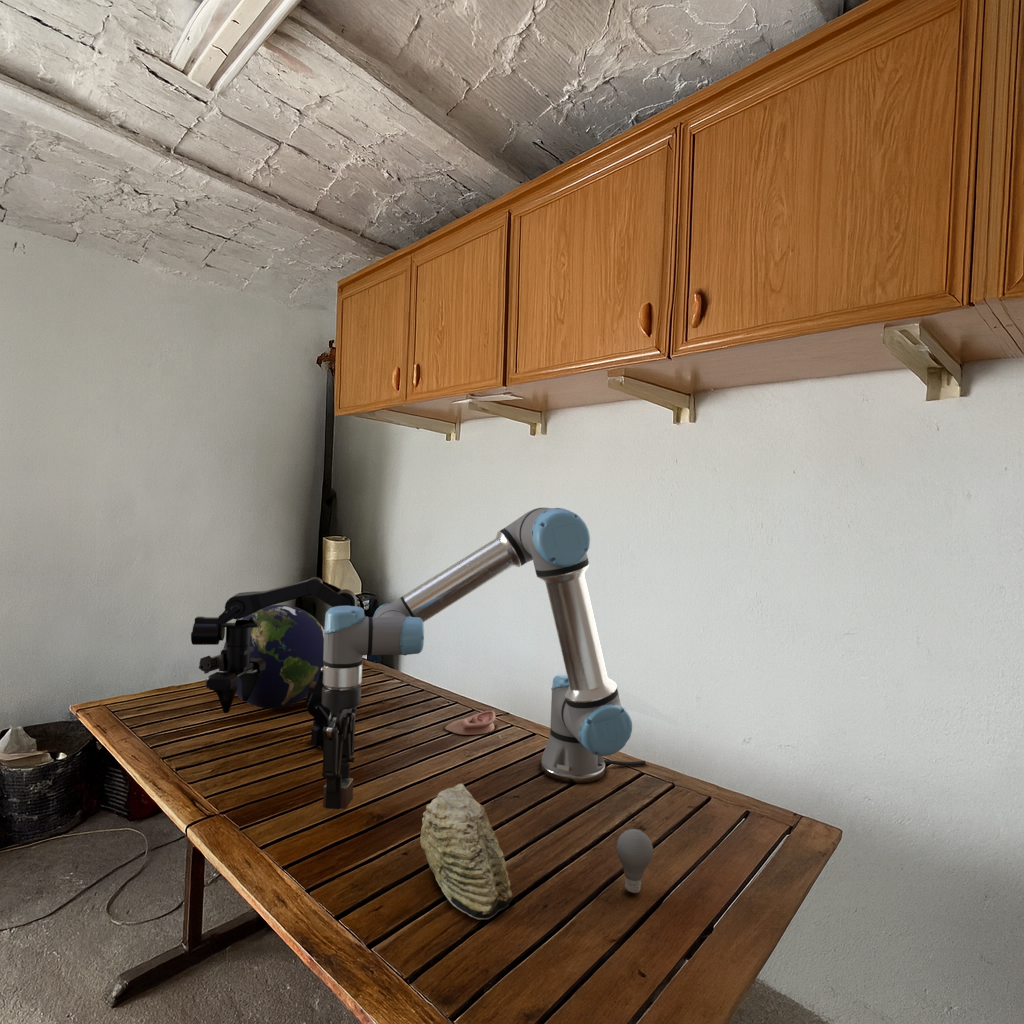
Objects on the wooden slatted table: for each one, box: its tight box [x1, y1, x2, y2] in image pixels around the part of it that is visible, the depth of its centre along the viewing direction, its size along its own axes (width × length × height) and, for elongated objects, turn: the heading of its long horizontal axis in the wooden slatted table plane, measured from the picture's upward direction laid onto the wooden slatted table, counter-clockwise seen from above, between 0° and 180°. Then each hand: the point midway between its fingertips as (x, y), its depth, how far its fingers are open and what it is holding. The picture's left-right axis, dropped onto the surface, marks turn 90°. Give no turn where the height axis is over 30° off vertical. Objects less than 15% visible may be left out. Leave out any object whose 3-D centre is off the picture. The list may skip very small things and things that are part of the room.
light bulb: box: [615, 828, 654, 894], centre depth 106 cm, size 6×6×10 cm
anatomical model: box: [444, 710, 496, 736], centre depth 177 cm, size 13×4×12 cm
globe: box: [222, 604, 324, 709], centre depth 188 cm, size 30×30×30 cm
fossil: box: [419, 783, 514, 921], centre depth 104 cm, size 9×18×15 cm, turn 45°
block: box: [322, 777, 354, 810], centre depth 126 cm, size 4×5×4 cm
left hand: (235, 706), depth 158 cm, fingers open, 9 cm apart
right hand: (337, 801), depth 126 cm, fingers closed on block, 4 cm apart
